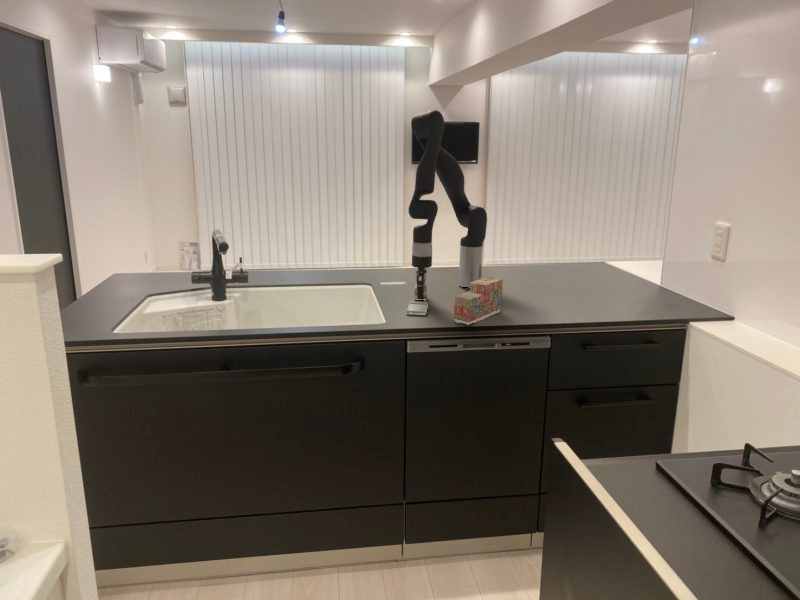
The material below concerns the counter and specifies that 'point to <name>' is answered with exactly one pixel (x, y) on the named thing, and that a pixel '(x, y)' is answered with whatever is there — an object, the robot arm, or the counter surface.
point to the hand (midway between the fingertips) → (420, 297)
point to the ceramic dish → (417, 307)
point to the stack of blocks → (479, 299)
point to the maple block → (424, 292)
